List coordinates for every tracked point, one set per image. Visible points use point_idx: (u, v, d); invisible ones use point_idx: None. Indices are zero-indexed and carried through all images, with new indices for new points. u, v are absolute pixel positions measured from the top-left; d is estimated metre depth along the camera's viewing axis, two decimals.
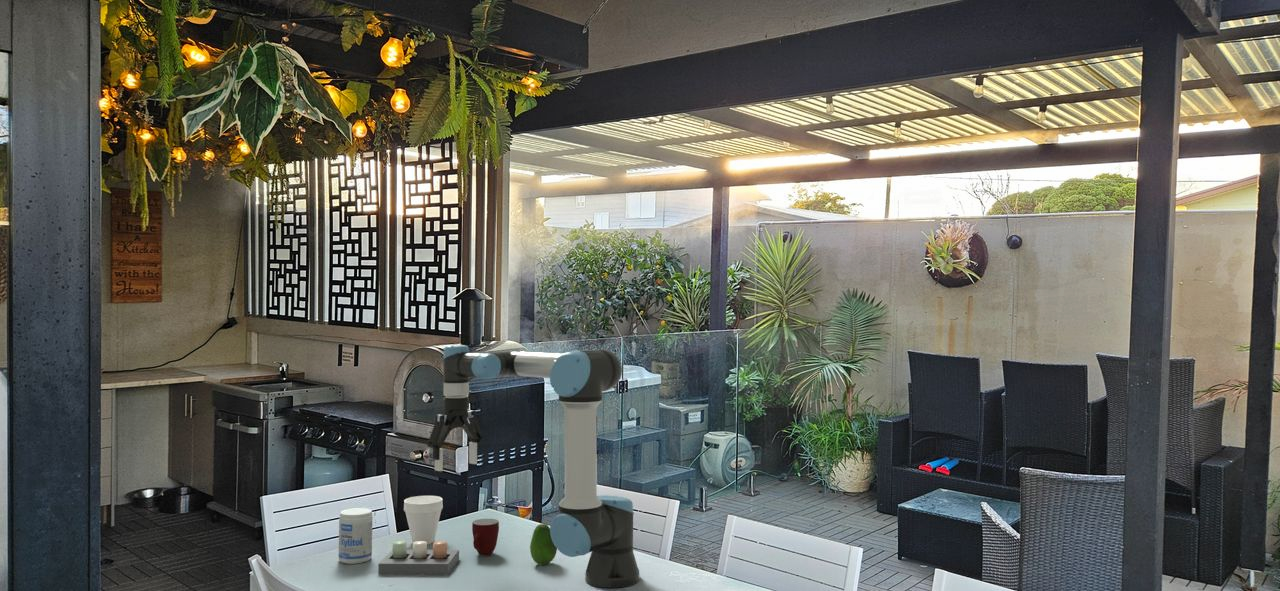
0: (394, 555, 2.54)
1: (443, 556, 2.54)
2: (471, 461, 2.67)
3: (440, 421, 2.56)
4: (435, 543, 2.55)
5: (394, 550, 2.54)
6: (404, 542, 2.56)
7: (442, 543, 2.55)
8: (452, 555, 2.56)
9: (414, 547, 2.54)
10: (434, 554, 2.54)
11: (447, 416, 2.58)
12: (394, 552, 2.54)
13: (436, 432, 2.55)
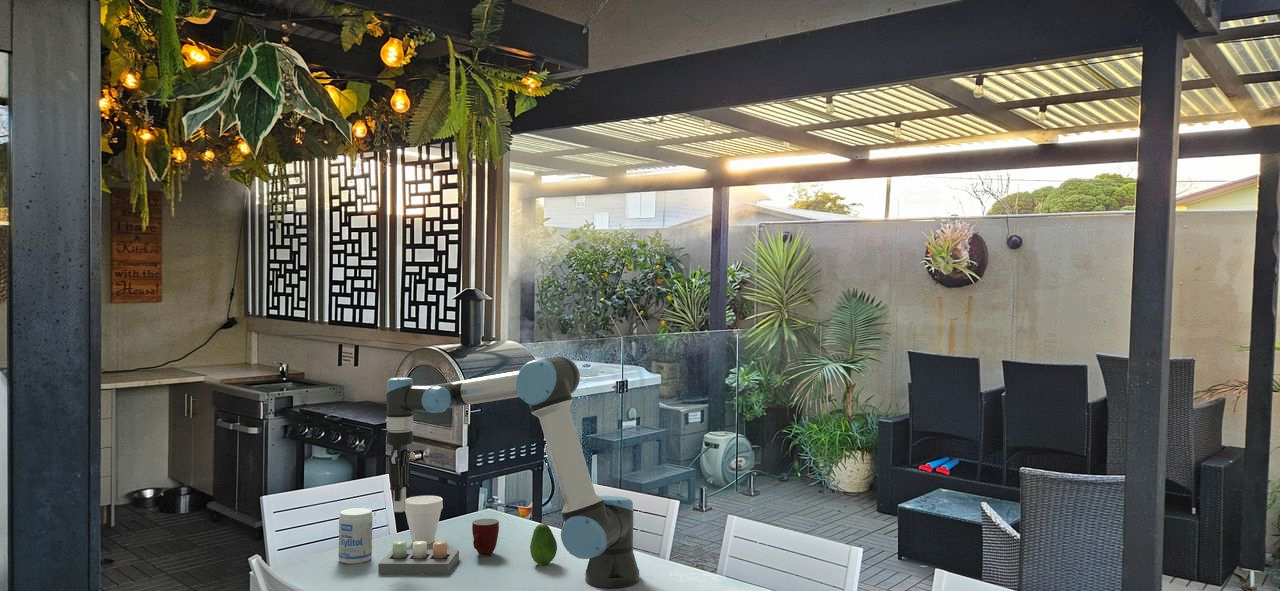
0: (394, 555, 2.54)
1: (443, 556, 2.54)
2: None
3: (396, 463, 2.50)
4: (435, 543, 2.55)
5: (394, 550, 2.54)
6: (404, 542, 2.56)
7: (442, 543, 2.55)
8: (452, 555, 2.56)
9: (414, 547, 2.54)
10: (434, 554, 2.54)
11: (398, 453, 2.51)
12: (394, 552, 2.54)
13: (397, 474, 2.50)
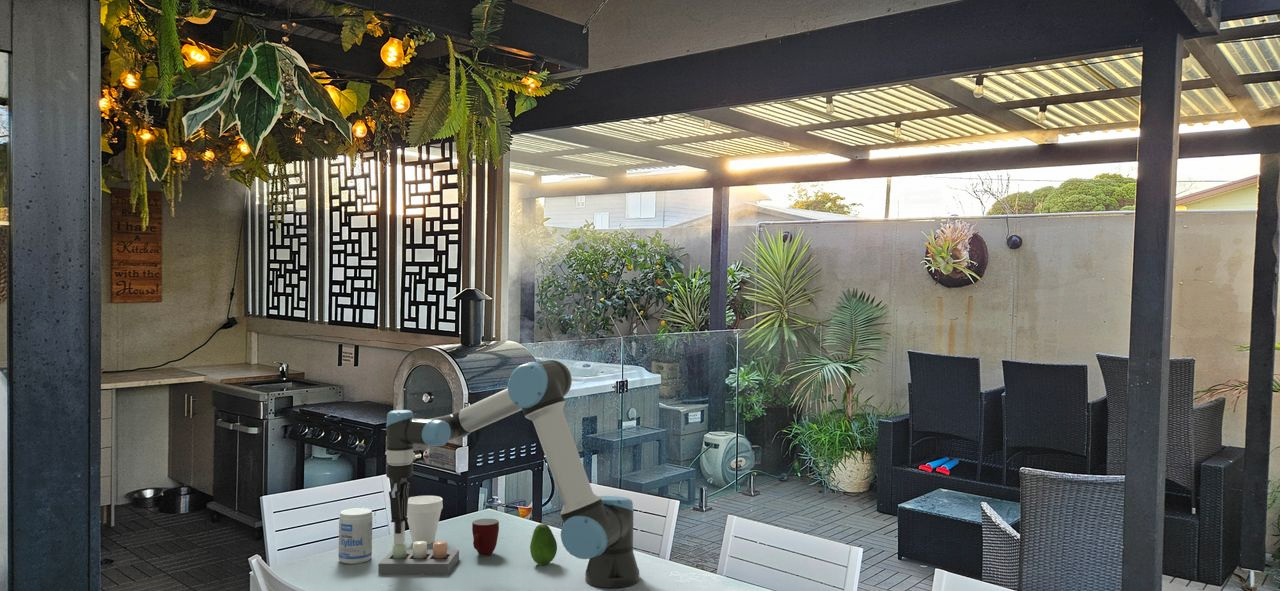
0: (394, 557, 2.54)
1: (443, 556, 2.54)
2: None
3: (397, 497, 2.50)
4: (435, 543, 2.55)
5: (394, 552, 2.54)
6: (404, 544, 2.56)
7: (442, 543, 2.55)
8: (452, 555, 2.56)
9: (414, 547, 2.54)
10: (434, 554, 2.54)
11: (397, 487, 2.51)
12: (394, 554, 2.54)
13: (397, 508, 2.51)
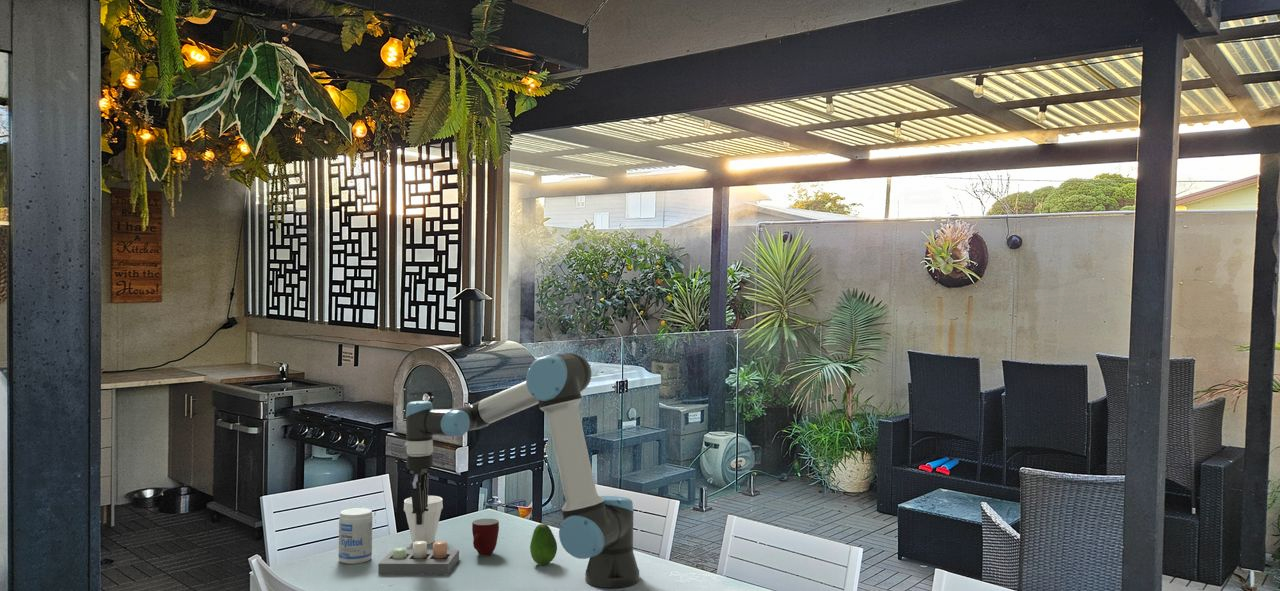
0: None
1: (443, 556, 2.54)
2: None
3: (418, 488, 2.50)
4: (435, 543, 2.55)
5: (394, 557, 2.54)
6: (404, 549, 2.56)
7: (442, 543, 2.55)
8: (452, 555, 2.56)
9: (414, 547, 2.54)
10: (434, 554, 2.54)
11: (418, 478, 2.51)
12: None
13: (418, 499, 2.51)
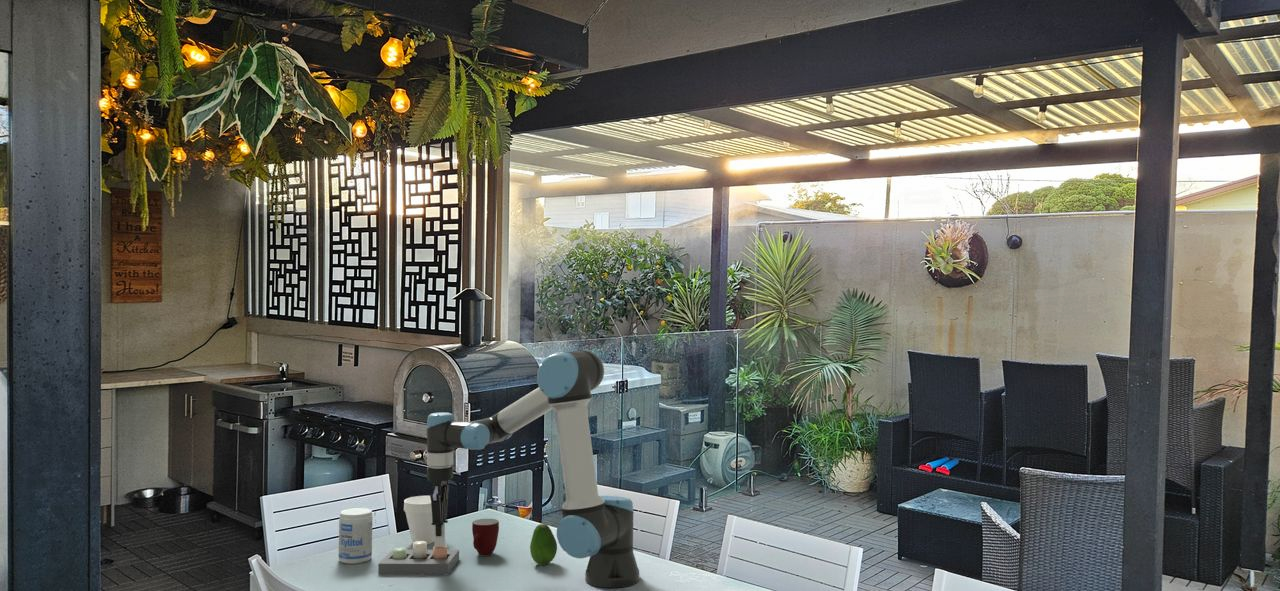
0: None
1: None
2: None
3: (438, 500, 2.50)
4: (435, 547, 2.55)
5: (394, 557, 2.54)
6: (404, 549, 2.56)
7: (442, 547, 2.55)
8: (452, 555, 2.56)
9: (414, 547, 2.54)
10: (434, 558, 2.54)
11: (438, 490, 2.51)
12: None
13: (438, 511, 2.51)
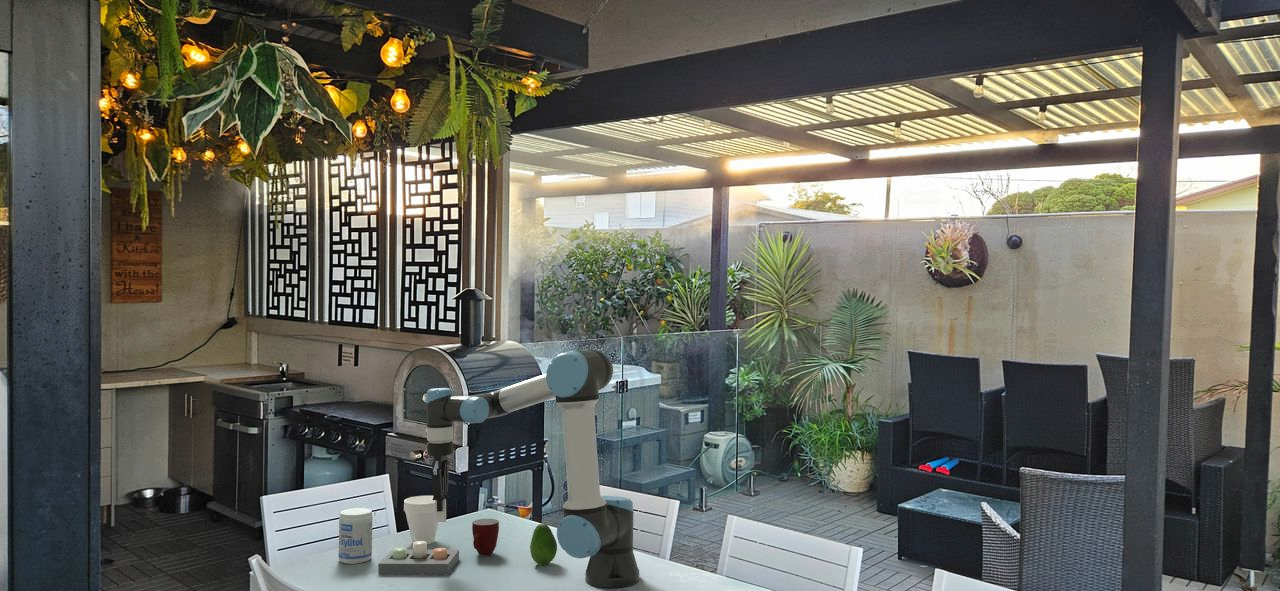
0: None
1: None
2: None
3: (438, 475, 2.50)
4: (435, 550, 2.55)
5: (394, 557, 2.54)
6: (404, 549, 2.56)
7: (442, 550, 2.55)
8: (452, 555, 2.56)
9: (414, 547, 2.54)
10: None
11: (439, 464, 2.51)
12: None
13: (439, 485, 2.51)
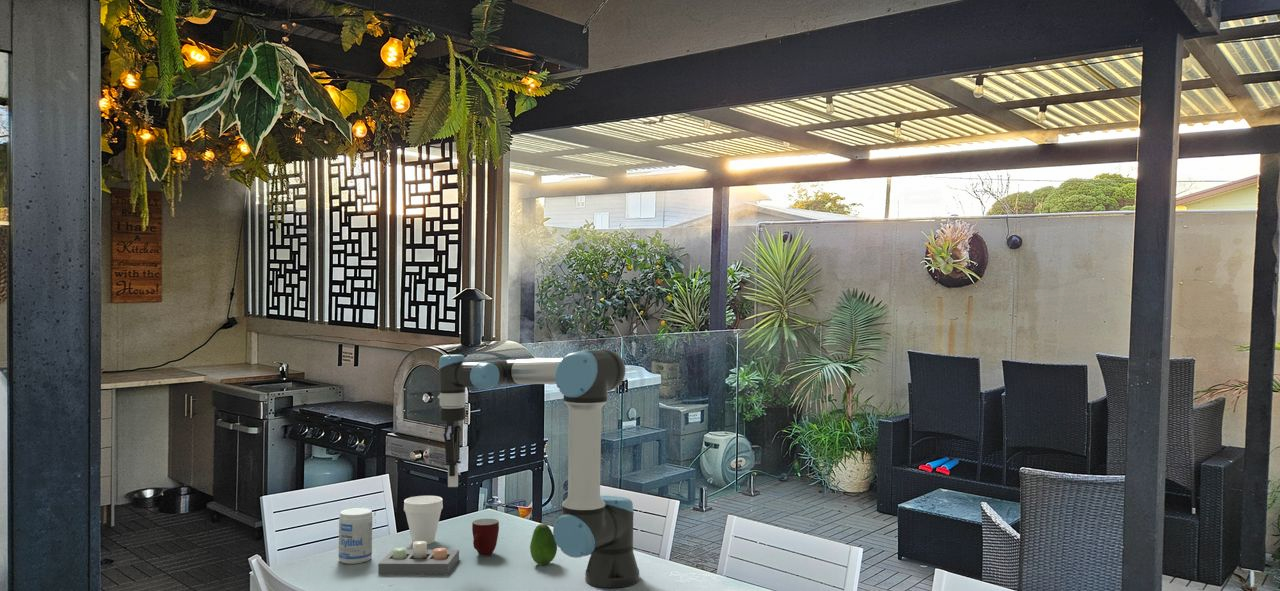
0: None
1: None
2: None
3: (451, 439, 2.52)
4: (435, 550, 2.55)
5: (394, 557, 2.54)
6: (404, 549, 2.56)
7: (442, 550, 2.55)
8: (452, 555, 2.56)
9: (414, 547, 2.54)
10: None
11: (452, 429, 2.54)
12: None
13: (452, 450, 2.53)
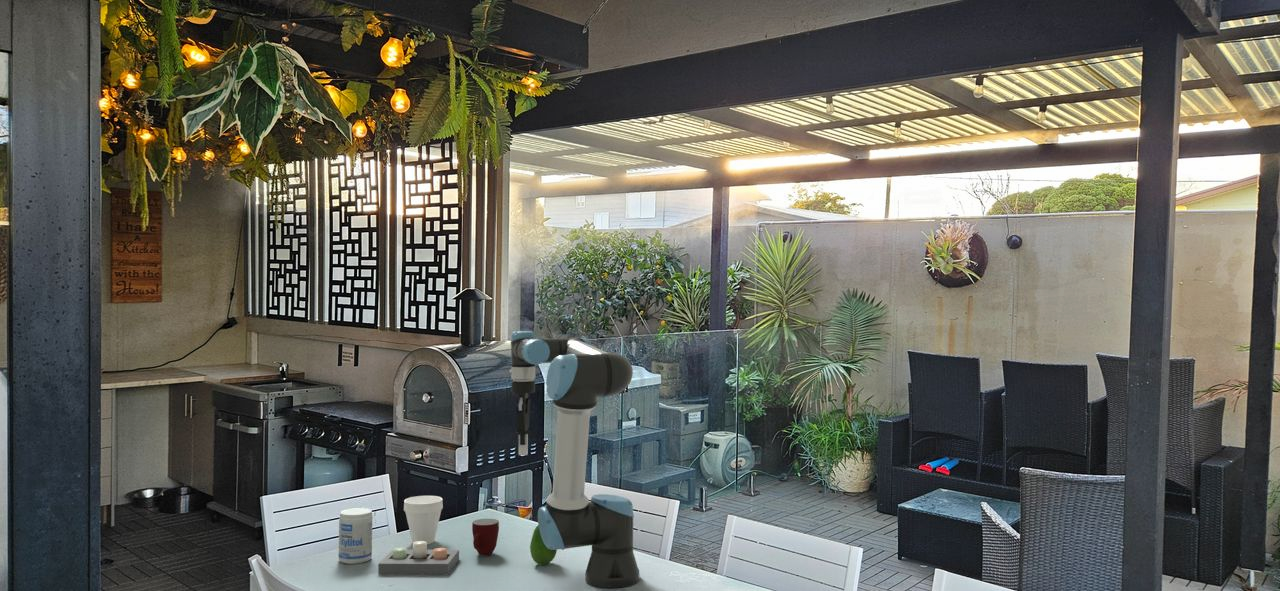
0: None
1: None
2: None
3: (523, 410, 2.69)
4: (435, 550, 2.55)
5: (394, 557, 2.54)
6: (404, 549, 2.56)
7: (442, 550, 2.55)
8: (452, 555, 2.56)
9: (414, 547, 2.54)
10: None
11: (523, 401, 2.71)
12: None
13: (523, 420, 2.70)
